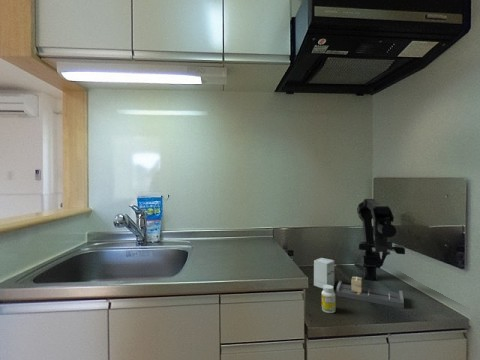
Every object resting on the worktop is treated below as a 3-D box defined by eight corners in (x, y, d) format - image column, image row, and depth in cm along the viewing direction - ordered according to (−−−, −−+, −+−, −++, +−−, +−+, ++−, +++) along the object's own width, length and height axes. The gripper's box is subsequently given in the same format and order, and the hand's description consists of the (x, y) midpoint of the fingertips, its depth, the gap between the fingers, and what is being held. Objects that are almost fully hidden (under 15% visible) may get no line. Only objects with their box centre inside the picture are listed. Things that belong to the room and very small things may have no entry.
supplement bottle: (335, 314, 103) (334, 290, 103) (320, 312, 106) (320, 288, 105) (335, 308, 108) (335, 284, 108) (322, 305, 111) (322, 283, 110)
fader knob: (352, 286, 124) (352, 275, 124) (361, 288, 122) (361, 277, 122) (351, 291, 119) (351, 279, 119) (361, 292, 117) (361, 281, 117)
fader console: (339, 287, 129) (339, 280, 129) (401, 298, 116) (401, 290, 116) (336, 295, 120) (336, 288, 120) (403, 308, 108) (403, 299, 108)
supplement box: (327, 290, 126) (326, 263, 126) (313, 285, 131) (313, 260, 131) (335, 285, 131) (334, 260, 131) (321, 281, 136) (321, 257, 136)
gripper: (357, 234, 121) (358, 268, 121) (406, 238, 112) (406, 274, 112) (359, 229, 131) (359, 261, 131) (403, 233, 122) (404, 266, 122)
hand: (381, 265), depth 124 cm, fingers closed
